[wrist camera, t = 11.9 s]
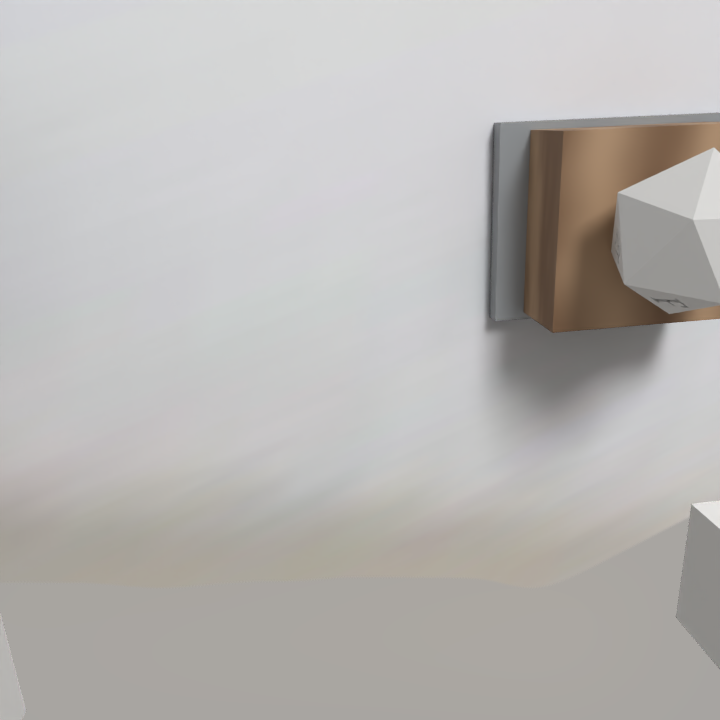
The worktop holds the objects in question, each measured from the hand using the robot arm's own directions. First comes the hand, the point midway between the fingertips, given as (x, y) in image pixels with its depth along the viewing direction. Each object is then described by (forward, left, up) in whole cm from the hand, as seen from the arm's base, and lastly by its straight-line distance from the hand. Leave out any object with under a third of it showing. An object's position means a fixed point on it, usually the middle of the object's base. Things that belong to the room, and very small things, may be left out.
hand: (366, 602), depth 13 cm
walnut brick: (+22, +1, -34) cm, 40 cm away
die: (+22, +2, -29) cm, 36 cm away
